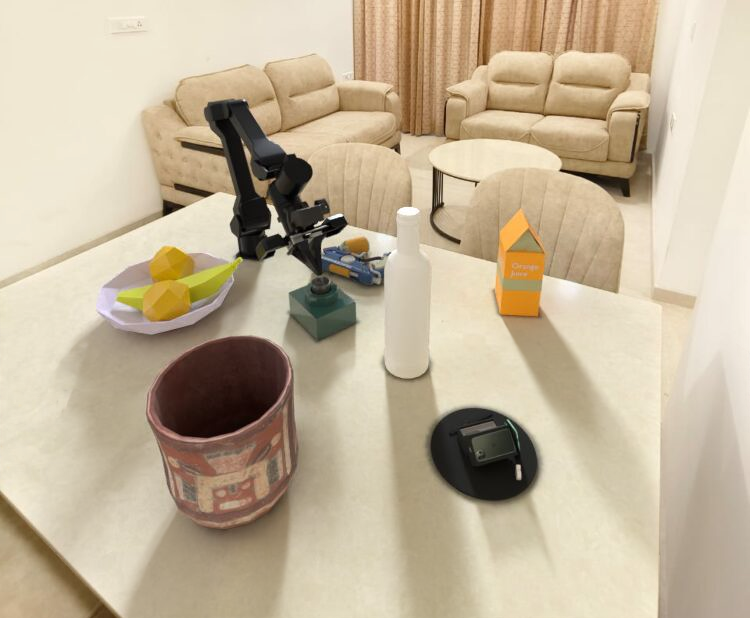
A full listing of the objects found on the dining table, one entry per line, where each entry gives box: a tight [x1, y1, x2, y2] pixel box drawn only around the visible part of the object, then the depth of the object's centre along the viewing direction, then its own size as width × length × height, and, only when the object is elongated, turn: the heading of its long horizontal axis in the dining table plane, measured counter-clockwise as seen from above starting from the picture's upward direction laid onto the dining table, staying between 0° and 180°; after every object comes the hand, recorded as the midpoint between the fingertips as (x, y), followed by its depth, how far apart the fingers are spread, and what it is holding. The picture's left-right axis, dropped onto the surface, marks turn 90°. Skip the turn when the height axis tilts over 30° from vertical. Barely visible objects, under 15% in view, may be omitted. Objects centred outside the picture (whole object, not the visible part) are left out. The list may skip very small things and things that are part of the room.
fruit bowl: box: [95, 245, 244, 336], centre depth 103 cm, size 28×27×11 cm
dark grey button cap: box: [310, 275, 331, 295], centre depth 99 cm, size 4×4×2 cm
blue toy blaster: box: [321, 236, 393, 286], centre depth 119 cm, size 21×4×15 cm
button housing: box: [288, 280, 357, 342], centre depth 100 cm, size 11×9×7 cm
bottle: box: [383, 206, 433, 379], centre depth 84 cm, size 8×8×30 cm
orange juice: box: [494, 208, 547, 317], centre depth 102 cm, size 8×9×20 cm
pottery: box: [145, 334, 299, 530], centre depth 65 cm, size 18×18×18 cm
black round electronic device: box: [430, 407, 538, 502], centre depth 71 cm, size 15×15×6 cm
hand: (320, 275), depth 98 cm, fingers closed
